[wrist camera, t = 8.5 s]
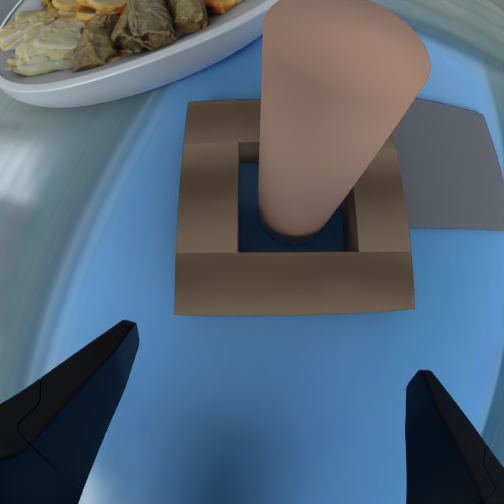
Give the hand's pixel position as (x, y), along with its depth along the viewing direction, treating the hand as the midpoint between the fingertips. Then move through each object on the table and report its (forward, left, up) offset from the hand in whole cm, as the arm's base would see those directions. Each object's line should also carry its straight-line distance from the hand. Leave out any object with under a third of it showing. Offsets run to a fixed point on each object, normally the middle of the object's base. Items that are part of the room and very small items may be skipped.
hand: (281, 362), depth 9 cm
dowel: (+7, -1, -8) cm, 11 cm away
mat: (+11, -13, -8) cm, 19 cm away
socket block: (+7, -1, -8) cm, 11 cm away
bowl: (+29, +12, -9) cm, 33 cm away
